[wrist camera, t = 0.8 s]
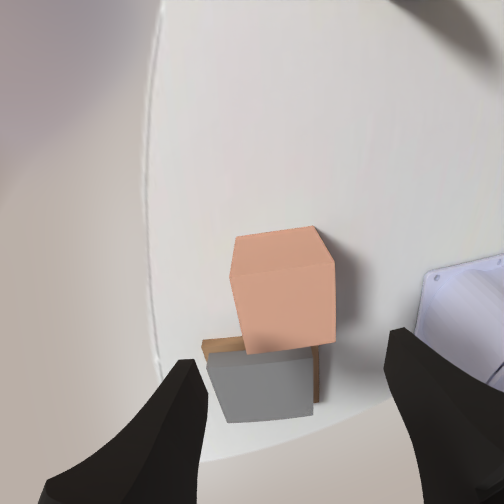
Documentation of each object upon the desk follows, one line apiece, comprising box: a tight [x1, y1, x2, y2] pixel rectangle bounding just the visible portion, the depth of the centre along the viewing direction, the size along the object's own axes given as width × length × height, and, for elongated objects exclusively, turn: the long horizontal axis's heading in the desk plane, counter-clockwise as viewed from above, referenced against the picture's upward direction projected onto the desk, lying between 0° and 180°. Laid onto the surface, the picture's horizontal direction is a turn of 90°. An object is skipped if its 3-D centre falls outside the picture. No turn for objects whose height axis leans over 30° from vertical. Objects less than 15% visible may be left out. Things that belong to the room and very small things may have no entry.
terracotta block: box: [229, 226, 336, 355], centre depth 15 cm, size 4×4×5 cm
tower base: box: [201, 336, 319, 403], centre depth 21 cm, size 8×8×2 cm
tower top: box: [206, 346, 313, 423], centre depth 20 cm, size 7×7×2 cm
